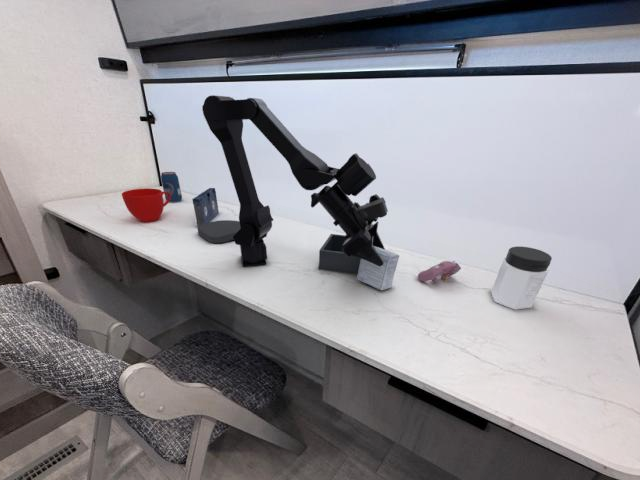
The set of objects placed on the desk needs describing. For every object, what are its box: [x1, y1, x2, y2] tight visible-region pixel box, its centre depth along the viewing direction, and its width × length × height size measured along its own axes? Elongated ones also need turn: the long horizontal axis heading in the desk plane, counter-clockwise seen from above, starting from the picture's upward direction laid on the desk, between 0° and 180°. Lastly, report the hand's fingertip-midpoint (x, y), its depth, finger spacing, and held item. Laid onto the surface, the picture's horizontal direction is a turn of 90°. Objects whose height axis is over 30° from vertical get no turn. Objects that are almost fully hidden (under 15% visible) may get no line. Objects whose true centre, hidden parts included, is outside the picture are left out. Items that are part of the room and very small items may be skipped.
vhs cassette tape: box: [192, 187, 220, 228], centre depth 114 cm, size 18×3×10 cm, turn 178°
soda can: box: [160, 171, 183, 203], centre depth 136 cm, size 7×7×12 cm
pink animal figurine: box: [417, 260, 462, 284], centre depth 78 cm, size 10×5×7 cm, turn 118°
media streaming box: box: [197, 219, 241, 244], centre depth 103 cm, size 15×15×3 cm
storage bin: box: [318, 233, 361, 276], centre depth 86 cm, size 14×14×6 cm
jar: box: [490, 246, 553, 310], centre depth 69 cm, size 9×8×12 cm
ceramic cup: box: [121, 187, 170, 223], centre depth 114 cm, size 13×17×10 cm
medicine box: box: [356, 246, 400, 291], centre depth 74 cm, size 8×4×9 cm, turn 44°
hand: (383, 259), depth 74 cm, fingers closed on medicine box, 7 cm apart
